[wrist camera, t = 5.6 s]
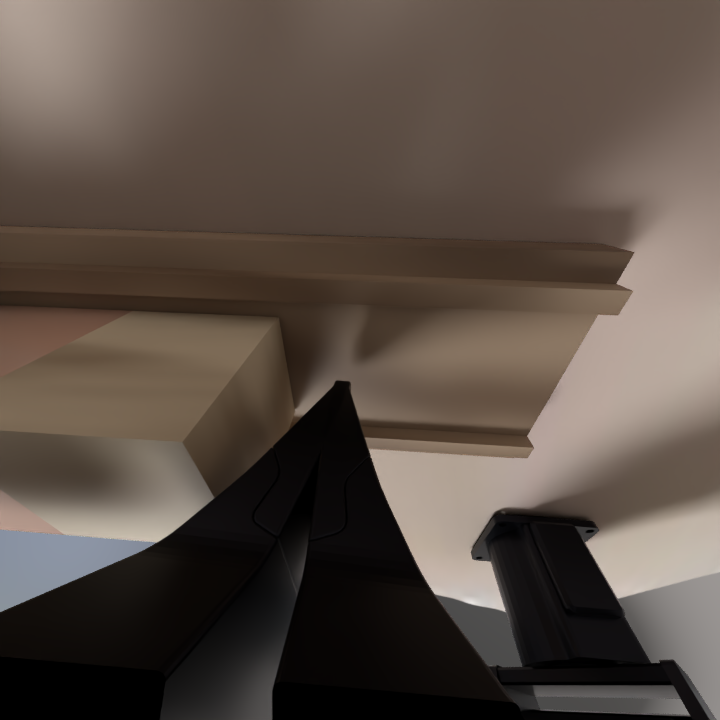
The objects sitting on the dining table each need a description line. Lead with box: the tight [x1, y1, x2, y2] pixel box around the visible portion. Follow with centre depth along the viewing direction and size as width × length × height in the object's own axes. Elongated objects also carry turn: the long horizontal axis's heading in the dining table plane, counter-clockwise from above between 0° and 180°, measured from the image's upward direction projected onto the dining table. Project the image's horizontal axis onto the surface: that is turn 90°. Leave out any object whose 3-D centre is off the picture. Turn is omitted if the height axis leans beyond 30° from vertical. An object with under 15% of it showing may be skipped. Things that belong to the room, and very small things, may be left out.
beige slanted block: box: [0, 311, 295, 542], centre depth 8 cm, size 4×5×5 cm
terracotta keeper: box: [0, 305, 132, 535], centre depth 8 cm, size 4×5×5 cm
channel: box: [0, 226, 634, 458], centre depth 10 cm, size 9×22×2 cm, turn 89°
